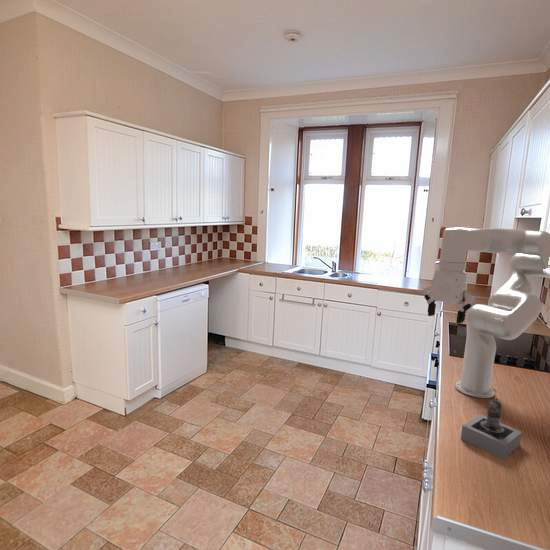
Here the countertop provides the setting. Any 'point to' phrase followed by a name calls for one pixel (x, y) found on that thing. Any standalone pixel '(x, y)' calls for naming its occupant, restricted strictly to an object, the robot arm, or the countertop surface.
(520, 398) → the countertop surface
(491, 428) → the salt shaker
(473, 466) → the countertop surface
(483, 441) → the holder
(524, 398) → the countertop surface
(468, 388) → the robot arm
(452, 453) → the countertop surface
